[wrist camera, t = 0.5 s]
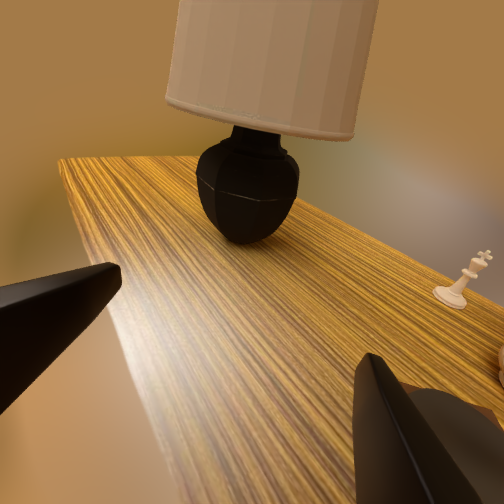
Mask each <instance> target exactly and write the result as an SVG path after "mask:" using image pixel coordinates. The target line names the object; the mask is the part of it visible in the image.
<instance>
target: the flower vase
mask: <svg viewBox="0 0 504 504" xmlns="http://www.w3.org/2000/svg"><path fill="white" fill-rule="evenodd" d="M498 361H499V365H500V369H501V370H500V371H499V375H498V376H499V380H500V382H501V384H502V386H503V388H504V345H503V346H502V347H501V348H500V350H499V354H498Z"/></svg>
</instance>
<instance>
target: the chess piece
mask: <svg viewBox="0 0 504 504" xmlns="http://www.w3.org/2000/svg"><path fill="white" fill-rule="evenodd" d="M490 252H491V251H488V250H487V251H486V252H485V253H482V252H480V251H479V253H478V255H480V256H482V257H481V258H480V259H479V258H472V259H471V263H470V266H469V269H463V270H462V272H463V273H464V275H463V276H462V277H461V278H460V279H459V280H458V281H457V282H455V283H454V284H453V285H452V286H451V287H443V286H438V287H436V288H435V289H433V294H434V296H435V297H436V298H437V299H438V300H439V301H441V302H442V303H444V304H446V305H447V306H450V307H452V308H455V309H464V308H465V306H466V305H467V302H466V300H465V299H464V297H463V296H462V294H461V292H462V291H463V289H464V287H465V286H466V284H467V282H468V281H469V280H470V278H477V277H478V275H477V274H476V272H477V271H479V270H481V269H482V268H485V267H486V266H487V263H486V262H485V261H484V259H485V258H487V259H489V260H491V259H492V256H489V255H488V254H489V253H490Z"/></svg>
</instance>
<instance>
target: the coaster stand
mask: <svg viewBox="0 0 504 504" xmlns="http://www.w3.org/2000/svg"><path fill="white" fill-rule="evenodd" d="M400 384H401V385H402V387H403V388H404V389H405V391H406V392H407V394H408V395H409V397H410V398H411V399H412V401H413V402H414V404H415V405H416V406H417V408H418V409H419V411H420V412H421V414H422V415H423V416H424V418H425V419H426V421H427V422H428V424H429V425H430V426H431V428H432V429H433V431H434V432H435V433H436V435H437V436H438V438H439V439H440V441H441V442H442V443H443V445H444V446H445V448H446V449H447V450H448V452H449V453H450V455H451V456H452V458H453V459H454V460H455V462H456V463H457V465H458V466H459V467H460V469H461V470H462V472H463V473H464V475H465V476H466V477H467V479H468V480H469V482H470V483H471V485H472V486H473V487H474V489H475V490H476V492H477V493H478V494H479V496H480V497H481V499H482V503H484V504H504V431H503V429H502V427H501V425H500V424H499V422H498V420H497V418H496V417H495V415H494V413H493V411H492V410H490V409H487V408H483V407H480V406H477V405H474V404H470V403H467V402H465V401H463V400H461V399H459V398H457V397H455V396H453V395H451V394H449V393H446V392H443V391H440V390H436V389H429V388H423V389H422V388H419V387H415V386H412V385H409V384H406V383H402V382H400Z"/></svg>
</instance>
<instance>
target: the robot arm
mask: <svg viewBox="0 0 504 504" xmlns="http://www.w3.org/2000/svg"><path fill="white" fill-rule="evenodd" d="M121 285H122V277H121V269H120V266H119V265H117V264H114V263H111V262H106V263H101V264H97V265H93V266H88V267H84V268H80V269H75V270H71V271H67V272H63V273H58V274H54V275H49V276H45V277H41V278H36V279H32V280H28V281H23V282H19V283H15V284H10V285H6V286H2V287H0V415H1V414H2V413H3V412H4V411H5V410H6V409H7V408H8V407H9V406H10V405H11V404H12V403H13V402H14V401H15V400H16V399H17V398H18V397H19V396H20V395H21V394H22V393H23V392H24V391H25V390H26V389H27V388H28V387H29V386H30V385H31V384H32V382H34V381H35V379H37V377H39V375H41V373H43V372H44V371H45V370H46V369H47V368H48V367H49V365H51V363H52V362H53V361H54V360H55V359H56V358H57V357H58V356H59V355H60V354H61V353H62V352H63V351H64V350H65V349H66V348H67V347H68V346H69V345H70V344H71V343H72V342H73V341H74V340H75V339H76V338H77V337H78V336H79V335H80V334H81V333H82V332H83V331H84V330H85V329H86V328H87V327H88V326H89V325H90V324H91V323H92V322H93V321H94V320H95V318H96V317H97V316H98V315H99V314H100V312H101V311H102V310H103V309H104V308H105V306H106V305H107V304H108V303H109V302H110V300H111V299H112V298H113V297H114V295H115V294H116V293H117V292H118V291H119V289H120V288H121ZM352 430H353V448H354V466H355V483H356V500H357V504H484V503H482V499H481V497H480V496H479V494H478V493H477V492H476V490H475V489H474V487H473V486H472V485H471V483H470V482H469V480H468V479H467V477H466V476H465V475H464V473H463V472H462V470H461V469H460V467H459V466H458V465H457V463H456V462H455V460H454V459H453V458H452V456H451V455H450V453H449V452H448V450H447V449H446V448H445V446H444V445H443V443H442V442H441V441H440V439H439V438H438V436H437V435H436V433H435V432H434V431H433V429H432V428H431V426H430V425H429V424H428V422H427V421H426V419H425V418H424V416H423V415H422V414H421V412H420V411H419V409H418V408H417V406H416V405H415V404H414V402H413V401H412V399H411V398H410V397H409V395H408V394H407V392H406V391H405V389H404V388H403V387H402V385H401V384H400V382H399V381H398V380H397V378H396V377H395V375H394V374H393V372H392V371H391V370H390V368H389V367H388V365H387V364H386V363H385V361H384V360H383V358H382V357H380V356H378V355H375V354H372V353H366V354H365V355H364V357H363V358H362V360H361V361H360V363H359V364H358V366H357V368H356V370H355V377H354V397H353V417H352Z"/></svg>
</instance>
